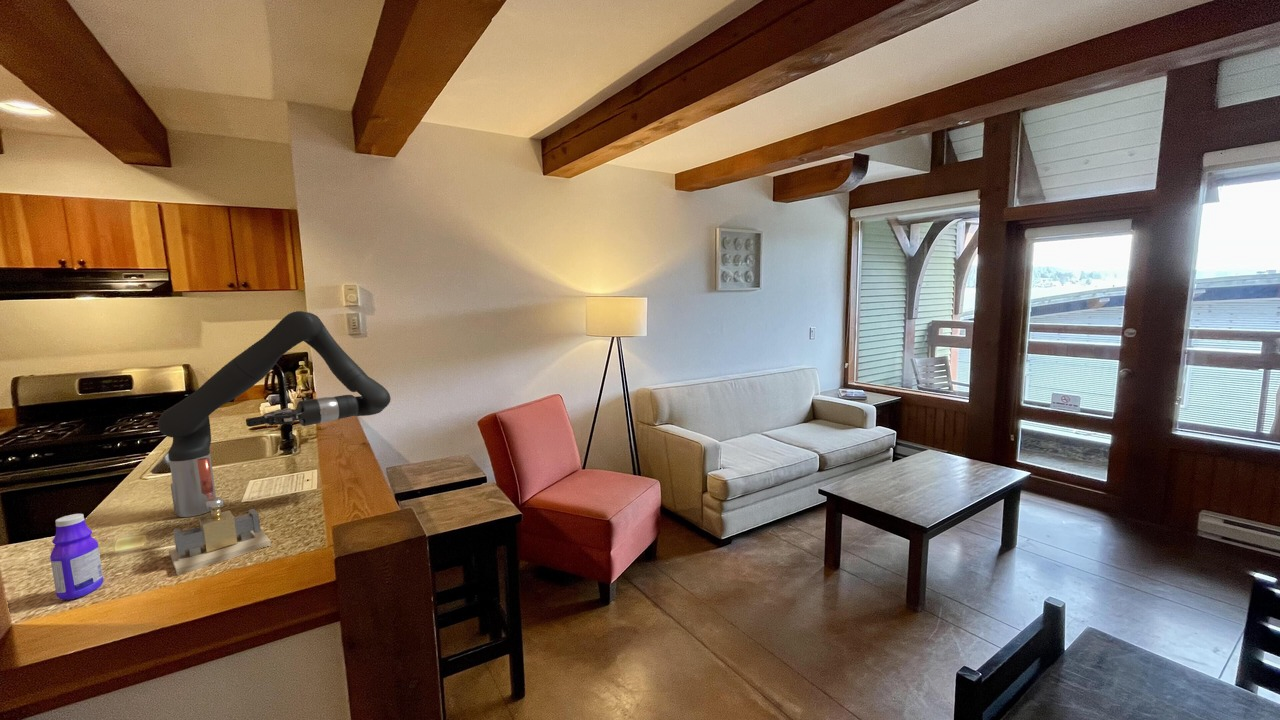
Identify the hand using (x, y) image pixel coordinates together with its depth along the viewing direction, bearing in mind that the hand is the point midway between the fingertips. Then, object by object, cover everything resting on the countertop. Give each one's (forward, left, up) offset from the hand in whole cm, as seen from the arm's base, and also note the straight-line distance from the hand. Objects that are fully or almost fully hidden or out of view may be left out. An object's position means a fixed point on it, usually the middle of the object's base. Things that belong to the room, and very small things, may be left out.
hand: (246, 422), depth 138 cm
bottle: (-10, -34, -30) cm, 46 cm away
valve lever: (-1, -11, -18) cm, 21 cm away
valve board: (+3, -14, -30) cm, 33 cm away
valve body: (+3, -14, -28) cm, 32 cm away
